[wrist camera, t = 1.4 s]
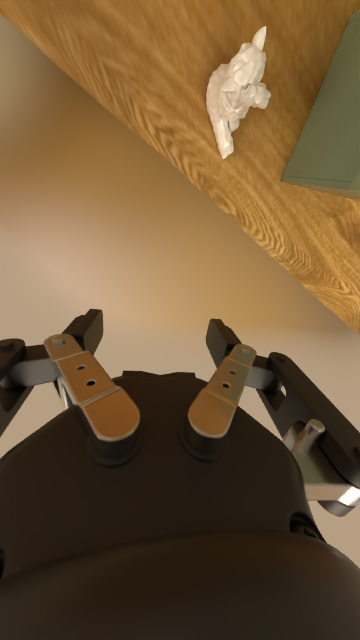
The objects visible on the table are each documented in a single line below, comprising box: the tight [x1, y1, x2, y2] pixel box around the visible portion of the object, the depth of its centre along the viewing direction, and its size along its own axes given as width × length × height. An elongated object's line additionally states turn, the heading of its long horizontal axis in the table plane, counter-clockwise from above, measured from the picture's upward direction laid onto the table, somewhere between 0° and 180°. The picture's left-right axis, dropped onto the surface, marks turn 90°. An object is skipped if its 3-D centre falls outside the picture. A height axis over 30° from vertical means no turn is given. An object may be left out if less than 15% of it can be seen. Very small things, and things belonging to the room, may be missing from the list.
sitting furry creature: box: [206, 26, 271, 159], centre depth 24 cm, size 10×9×12 cm
